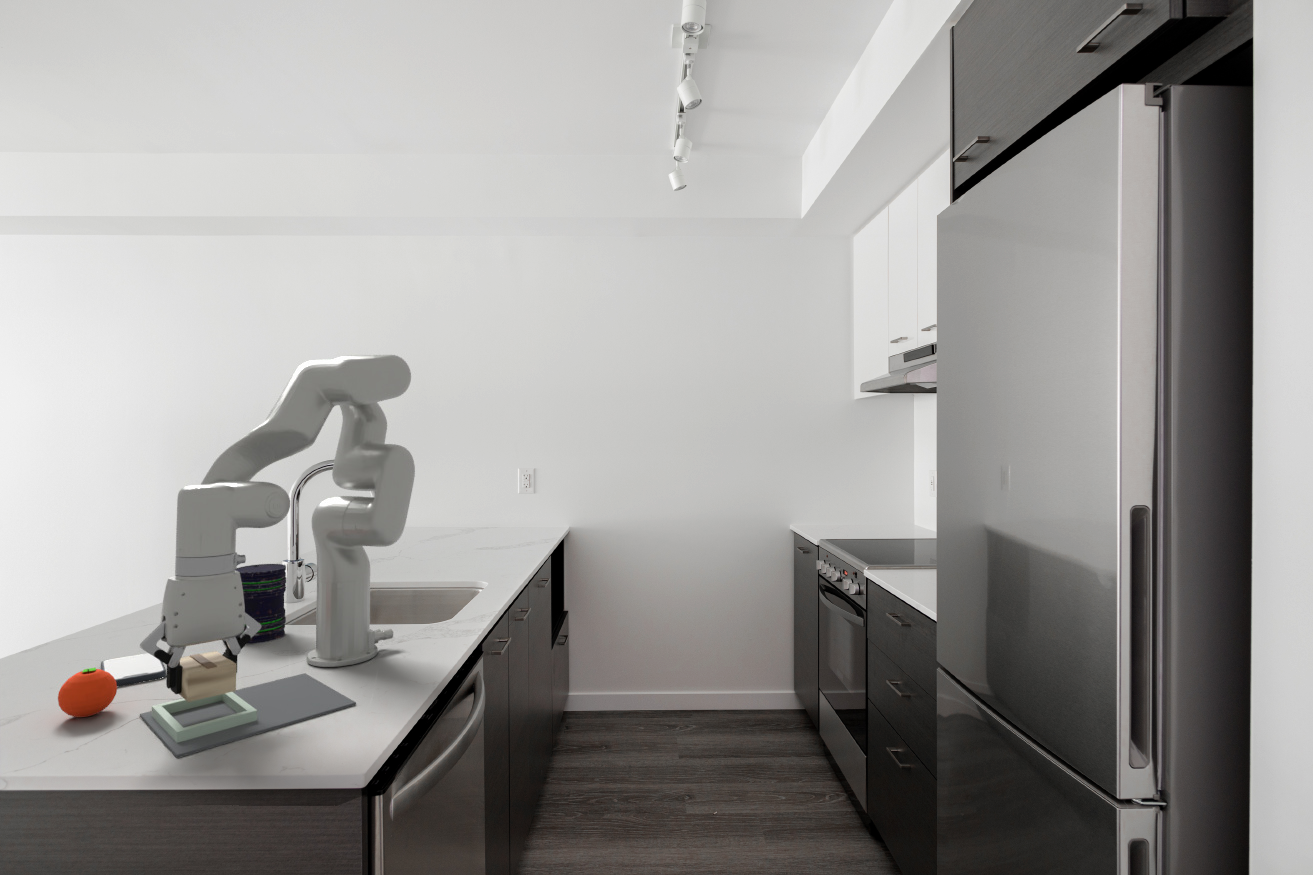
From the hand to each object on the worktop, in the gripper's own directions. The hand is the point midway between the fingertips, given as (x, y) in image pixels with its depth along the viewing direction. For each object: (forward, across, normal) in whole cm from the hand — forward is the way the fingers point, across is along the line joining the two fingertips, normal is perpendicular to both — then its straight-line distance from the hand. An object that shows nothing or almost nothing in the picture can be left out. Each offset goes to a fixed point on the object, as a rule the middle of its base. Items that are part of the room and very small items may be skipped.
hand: (202, 684), depth 99 cm
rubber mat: (+5, -6, +1) cm, 8 cm away
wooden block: (+1, 0, 0) cm, 1 cm away
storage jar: (+5, -21, -41) cm, 46 cm away
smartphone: (+6, +2, -35) cm, 35 cm away
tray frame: (+6, 0, 0) cm, 6 cm away
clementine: (+6, +11, -16) cm, 20 cm away
